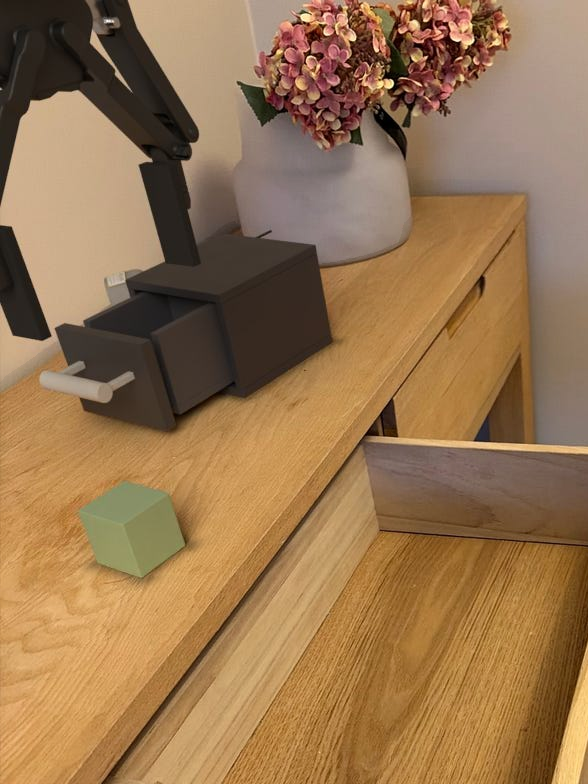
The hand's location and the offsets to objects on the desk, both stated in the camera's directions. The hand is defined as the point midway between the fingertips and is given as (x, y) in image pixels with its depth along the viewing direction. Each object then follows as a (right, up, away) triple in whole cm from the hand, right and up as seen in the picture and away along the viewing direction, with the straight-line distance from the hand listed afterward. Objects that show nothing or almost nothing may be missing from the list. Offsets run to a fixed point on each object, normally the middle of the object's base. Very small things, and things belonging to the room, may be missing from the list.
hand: (113, 298), depth 65 cm
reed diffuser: (-7, +14, +45) cm, 47 cm away
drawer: (-5, -1, +24) cm, 25 cm away
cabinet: (+1, +5, +33) cm, 33 cm away
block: (0, -16, +6) cm, 18 cm away
